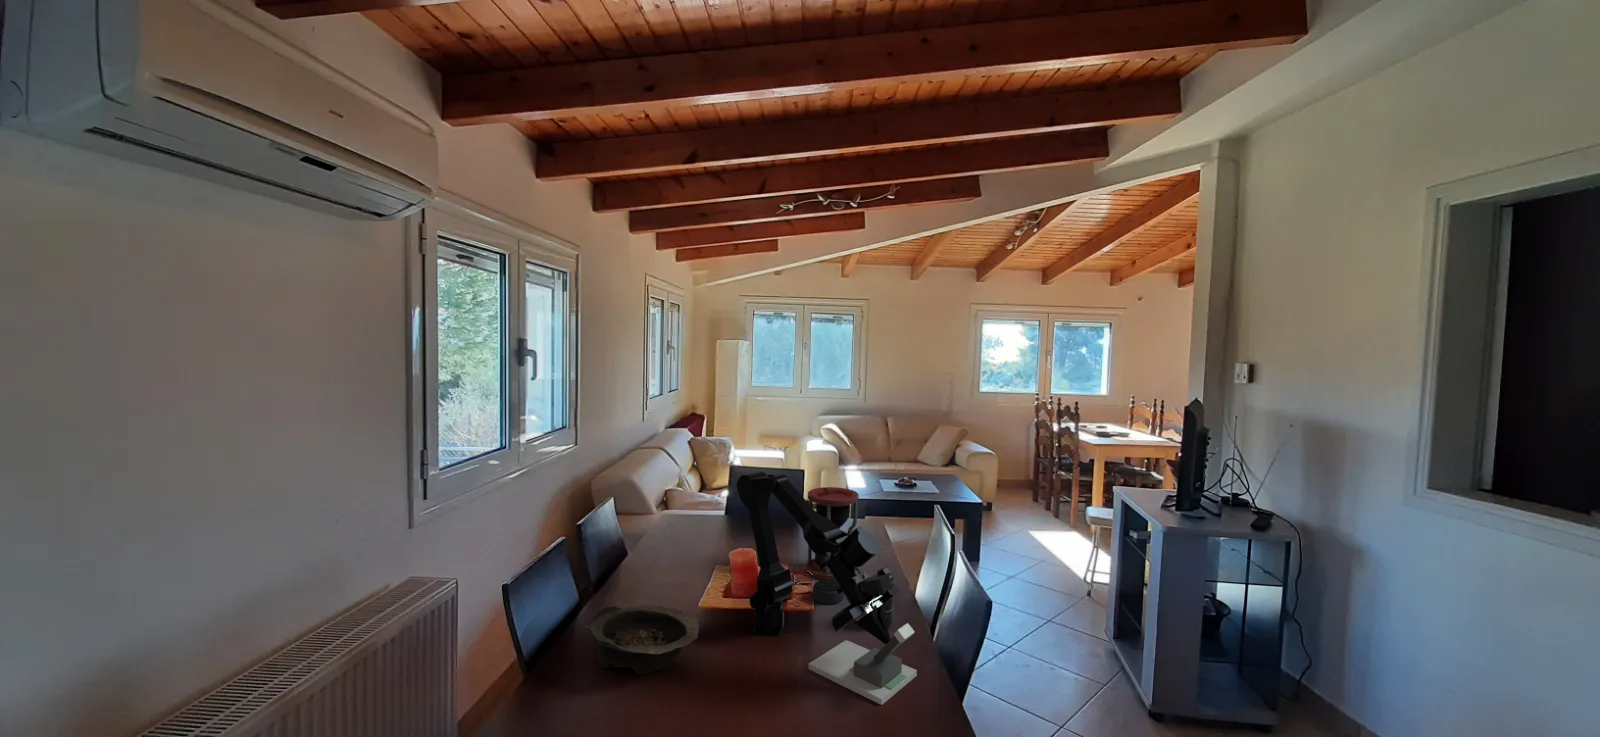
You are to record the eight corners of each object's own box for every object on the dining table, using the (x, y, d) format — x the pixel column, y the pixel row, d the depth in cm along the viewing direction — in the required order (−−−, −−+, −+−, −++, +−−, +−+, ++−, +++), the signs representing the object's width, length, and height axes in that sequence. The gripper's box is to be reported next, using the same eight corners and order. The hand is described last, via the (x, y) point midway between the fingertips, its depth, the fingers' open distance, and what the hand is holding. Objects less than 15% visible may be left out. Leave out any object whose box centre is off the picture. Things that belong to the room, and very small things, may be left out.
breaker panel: (808, 668, 128) (808, 650, 128) (846, 644, 139) (846, 627, 139) (881, 705, 116) (882, 684, 116) (916, 675, 126) (917, 656, 126)
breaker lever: (871, 656, 123) (897, 629, 119) (881, 649, 126) (907, 623, 122) (878, 665, 122) (904, 639, 118) (888, 658, 125) (914, 632, 121)
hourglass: (860, 564, 190) (861, 488, 189) (853, 583, 175) (855, 501, 174) (811, 559, 194) (813, 485, 193) (801, 577, 178) (802, 497, 177)
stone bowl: (560, 671, 125) (562, 628, 125) (633, 628, 148) (635, 592, 149) (657, 697, 116) (659, 650, 116) (719, 647, 139) (720, 608, 140)
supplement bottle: (892, 631, 146) (893, 584, 146) (865, 627, 148) (866, 581, 147) (893, 618, 153) (894, 573, 152) (867, 615, 154) (868, 571, 154)
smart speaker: (844, 606, 160) (845, 591, 160) (812, 605, 160) (812, 591, 160) (843, 592, 169) (843, 578, 169) (812, 591, 169) (812, 578, 169)
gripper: (845, 570, 118) (889, 643, 112) (893, 547, 132) (935, 611, 126) (813, 596, 124) (854, 667, 117) (863, 571, 138) (902, 633, 131)
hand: (888, 643), depth 123 cm, fingers closed, pressing on breaker lever
